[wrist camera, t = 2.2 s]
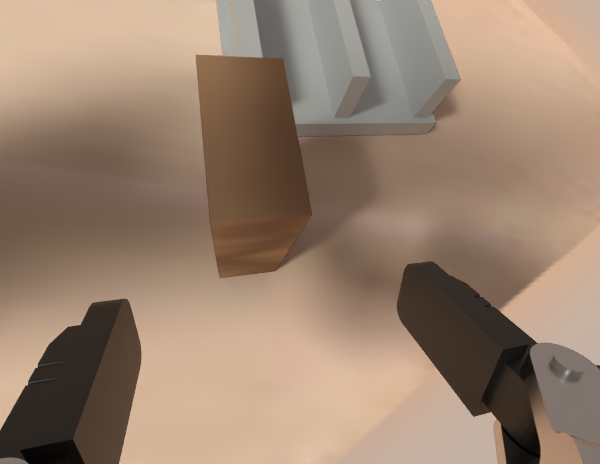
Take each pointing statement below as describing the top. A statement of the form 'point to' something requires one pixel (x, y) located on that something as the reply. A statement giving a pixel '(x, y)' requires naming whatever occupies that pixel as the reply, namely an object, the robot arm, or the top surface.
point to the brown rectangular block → (250, 162)
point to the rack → (348, 60)
